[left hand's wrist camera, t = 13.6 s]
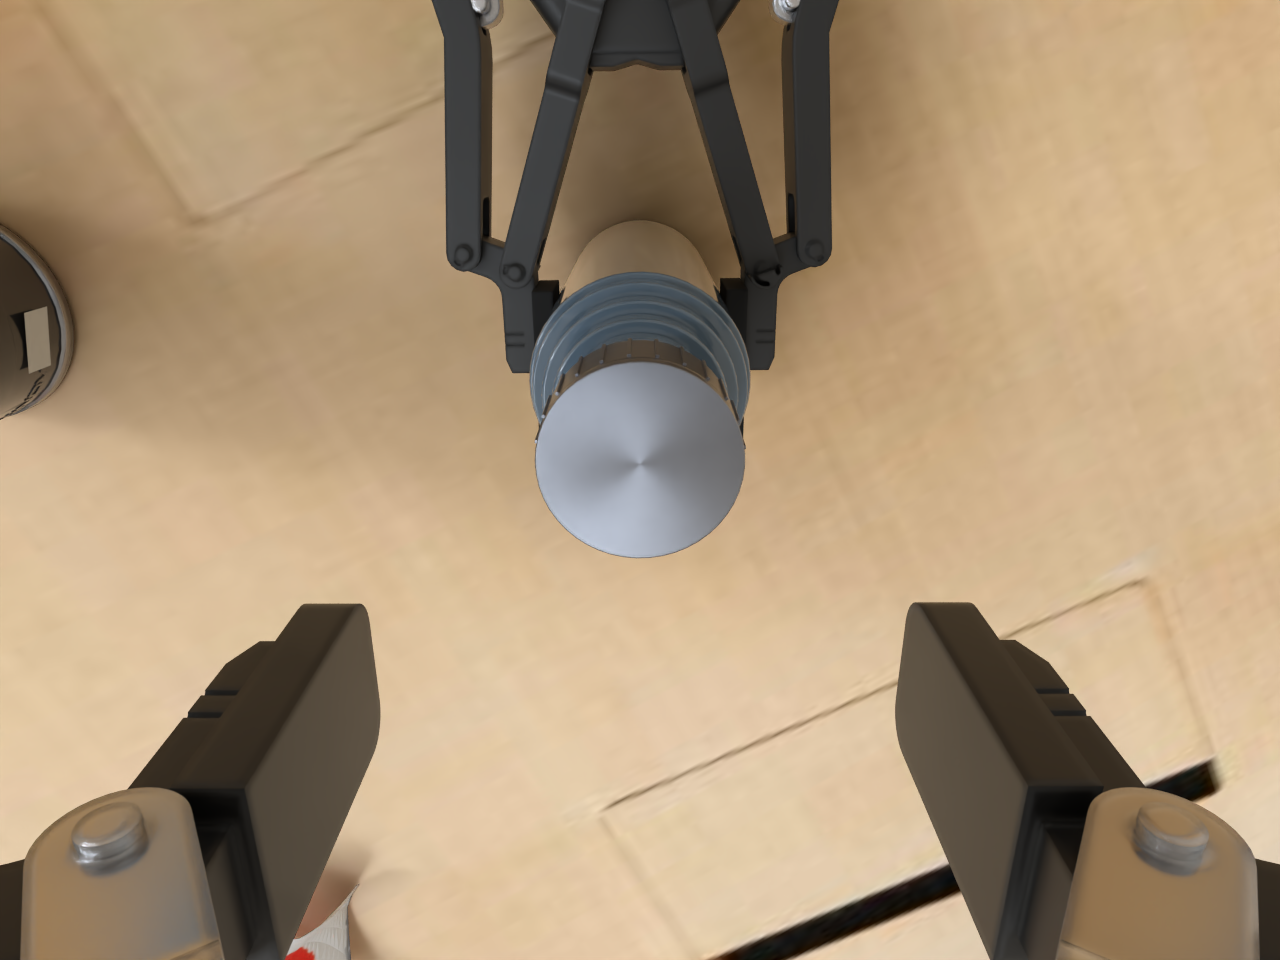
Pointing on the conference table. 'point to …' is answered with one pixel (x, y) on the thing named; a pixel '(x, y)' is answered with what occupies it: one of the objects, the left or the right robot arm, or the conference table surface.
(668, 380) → the cap
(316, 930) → the fish
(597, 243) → the bottle
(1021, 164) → the conference table surface
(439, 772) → the conference table surface
